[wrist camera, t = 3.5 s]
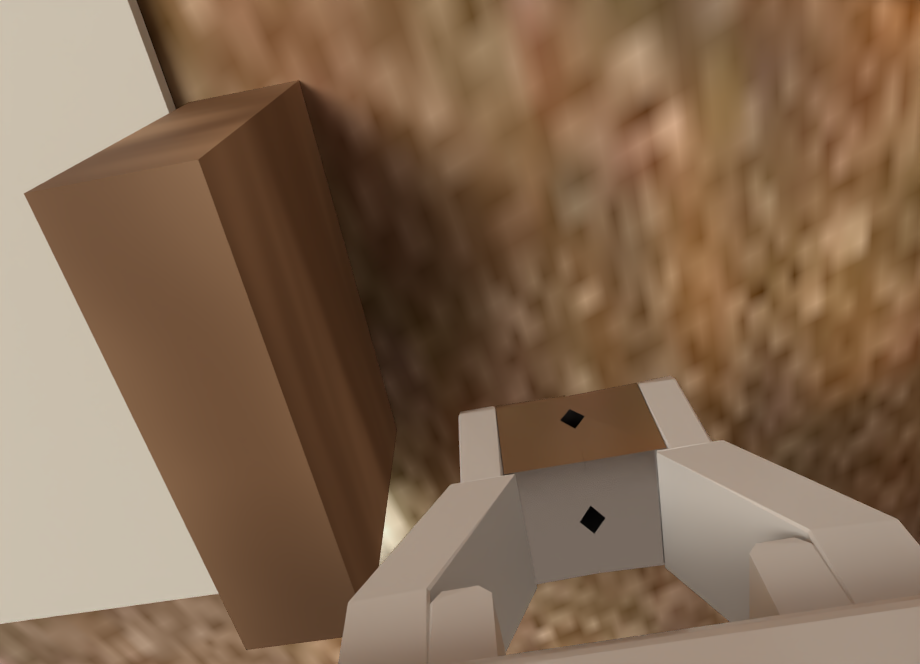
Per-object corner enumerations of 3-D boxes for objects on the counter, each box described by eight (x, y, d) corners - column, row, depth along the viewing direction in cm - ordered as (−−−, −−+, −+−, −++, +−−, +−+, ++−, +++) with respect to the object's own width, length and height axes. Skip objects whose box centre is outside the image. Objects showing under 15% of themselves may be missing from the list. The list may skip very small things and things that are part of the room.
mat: (82, -147, 13) (72, -149, 13) (342, 566, 21) (340, 576, 21) (-447, -21, 14) (-471, -21, 14) (-1, 614, 22) (-9, 624, 22)
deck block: (299, 79, 15) (198, 160, 9) (396, 428, 19) (369, 633, 13) (189, 101, 15) (23, 193, 9) (310, 441, 19) (246, 649, 13)
